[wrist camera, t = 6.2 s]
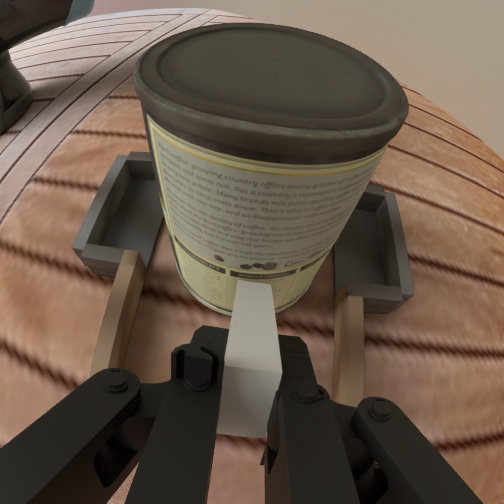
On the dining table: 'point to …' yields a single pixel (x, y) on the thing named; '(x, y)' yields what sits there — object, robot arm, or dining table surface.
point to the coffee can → (261, 150)
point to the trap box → (146, 232)
